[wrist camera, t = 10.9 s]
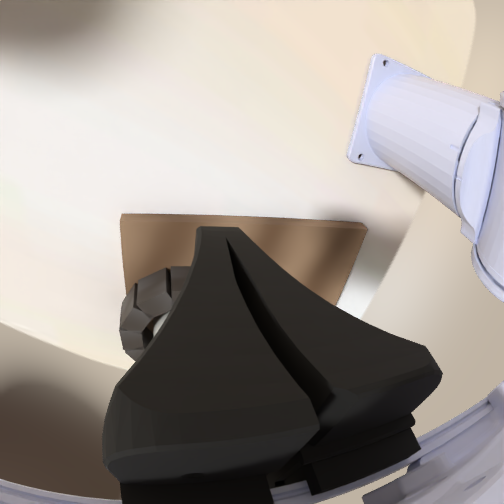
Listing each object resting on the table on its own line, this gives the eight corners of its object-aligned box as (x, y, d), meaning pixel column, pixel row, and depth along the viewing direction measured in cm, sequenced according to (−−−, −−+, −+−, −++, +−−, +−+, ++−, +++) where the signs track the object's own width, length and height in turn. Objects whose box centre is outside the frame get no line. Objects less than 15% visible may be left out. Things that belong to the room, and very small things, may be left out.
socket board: (361, 222, 24) (384, 247, 21) (312, 337, 32) (324, 363, 29) (114, 213, 19) (105, 243, 16) (131, 347, 26) (130, 379, 24)
